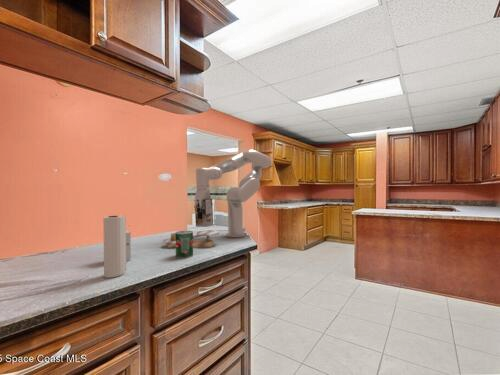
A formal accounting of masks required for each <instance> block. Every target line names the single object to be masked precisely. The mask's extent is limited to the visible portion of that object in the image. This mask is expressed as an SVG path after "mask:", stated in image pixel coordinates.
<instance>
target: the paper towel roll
mask: <svg viewBox="0 0 500 375" xmlns="http://www.w3.org/2000/svg"><path fill="white" fill-rule="evenodd" d="M126 231H127V215H110V216H109V215H108V216H103V277H104V278H109V279H110V278H111V279H112V278H116V277H117V278H118V277H120V276H122V275H124V274H125V272H126V271H127V261H126Z"/></svg>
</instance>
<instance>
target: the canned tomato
mask: <svg viewBox="0 0 500 375" xmlns="http://www.w3.org/2000/svg"><path fill="white" fill-rule="evenodd" d="M175 233H176V236H175V237H176V248H175V258H178V259H188V258H193V256H194V247H193V240H194V238H193V236H194V231H193V230H180V231H175Z"/></svg>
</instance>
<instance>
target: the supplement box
mask: <svg viewBox="0 0 500 375" xmlns="http://www.w3.org/2000/svg"><path fill="white" fill-rule="evenodd" d="M131 235H132V234H131V231H128V230H126V262H128V261H131V256H132V255H131V245H132V244H131V243H132V242H131V237H132V236H131Z"/></svg>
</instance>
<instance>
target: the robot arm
mask: <svg viewBox="0 0 500 375" xmlns="http://www.w3.org/2000/svg"><path fill="white" fill-rule="evenodd" d="M248 164H251V170H250V172H249V173H248V174H246V176H244V177H243V178H242V179H241V180H240V181H239V183H238V187H237V186H236V187H235V186H233V187H230V188H229V189H228V190H227V192H226V202H227V233H226V234H225V237H227V238H243V237H245V236H246V233H244V232H245V231H246V228H245V227H243V226H244V225H243V221H244V220H243V214H244V213H243V204H242V203H246V202H247V201H248V200H250V199H251V198H252V197H253V196H254V195H255V194H256V193H257V192H258V191H259V189H260V187H261V179H262V177H263V176H262V175H263V172H262V171H263V169H268V168H270V167H271V165H272V159H271V157H270V156H269V155H267V154H265V153H262V152H260V151H257V150H254V149H248V150H244V151H241V152H239V153H237V154H235V155H233V156H231V157H229V158H227V159H225V160H223V161H221V162H218V163H216V164H214V165H212V166H210V167H197V168H196V170H195V177H196V178H195V181H196V182H195V183H196V185H195V186H196V190H195V193H194V200H195V201H194V205H193V208H194V210H195V209H196V211H197V212H198V219H202V212H201V211H202V207H203V200H205V199H212V196H211V190H210V181H215V180H216V181H217V180H219V179H220V178H222V176H223V174H227V173H231V172H233V171H236V170H238V169H240V168H241V167H243V166H245V165H248ZM213 205H214V204H213V202H212V206H213ZM197 206H198V207H197ZM199 206H200V207H199ZM199 208H200V209H199Z"/></svg>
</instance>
